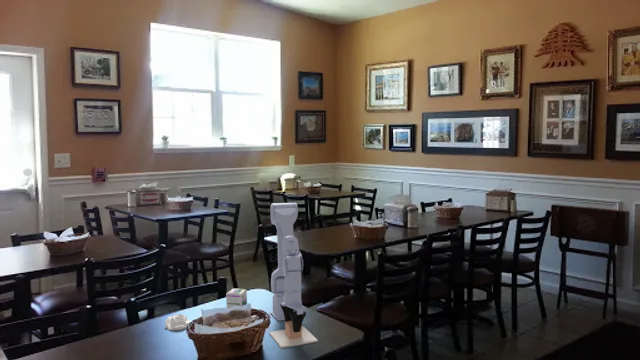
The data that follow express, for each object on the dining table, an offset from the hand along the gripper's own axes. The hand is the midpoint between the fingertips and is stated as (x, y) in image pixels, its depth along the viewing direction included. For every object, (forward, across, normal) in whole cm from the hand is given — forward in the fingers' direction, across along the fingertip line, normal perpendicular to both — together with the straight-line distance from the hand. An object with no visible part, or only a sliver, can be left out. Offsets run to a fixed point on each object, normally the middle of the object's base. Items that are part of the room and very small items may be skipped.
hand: (292, 327), depth 175 cm
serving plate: (+3, 0, 0) cm, 3 cm away
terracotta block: (+3, 0, 0) cm, 3 cm away
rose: (+4, -27, -35) cm, 44 cm away
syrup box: (+4, -14, -16) cm, 22 cm away
